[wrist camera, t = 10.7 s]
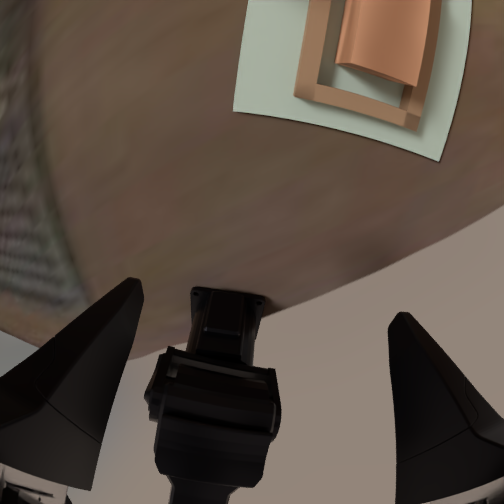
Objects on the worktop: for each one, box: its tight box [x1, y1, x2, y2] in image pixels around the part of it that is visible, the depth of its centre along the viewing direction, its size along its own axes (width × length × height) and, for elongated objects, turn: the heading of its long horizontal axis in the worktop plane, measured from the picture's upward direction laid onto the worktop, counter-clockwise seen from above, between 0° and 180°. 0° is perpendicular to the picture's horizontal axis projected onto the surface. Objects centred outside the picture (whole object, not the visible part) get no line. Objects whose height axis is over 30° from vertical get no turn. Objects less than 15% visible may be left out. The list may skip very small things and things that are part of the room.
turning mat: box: [233, 0, 472, 162], centre depth 10 cm, size 16×14×2 cm
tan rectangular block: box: [334, 0, 431, 87], centre depth 9 cm, size 4×8×4 cm, turn 172°
